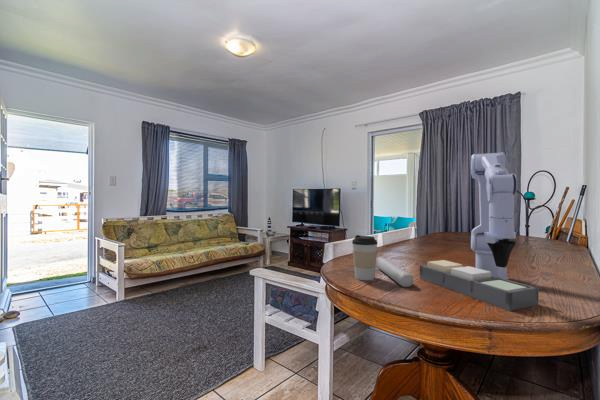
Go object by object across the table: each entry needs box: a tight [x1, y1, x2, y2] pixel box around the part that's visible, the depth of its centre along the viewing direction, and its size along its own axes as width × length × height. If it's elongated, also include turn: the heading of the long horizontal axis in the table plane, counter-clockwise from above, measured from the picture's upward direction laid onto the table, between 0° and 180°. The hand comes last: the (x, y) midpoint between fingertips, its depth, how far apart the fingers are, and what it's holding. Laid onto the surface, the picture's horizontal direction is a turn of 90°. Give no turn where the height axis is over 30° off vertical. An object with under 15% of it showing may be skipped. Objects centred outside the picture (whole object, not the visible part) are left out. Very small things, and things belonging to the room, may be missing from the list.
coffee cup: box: [351, 234, 378, 281], centre depth 103 cm, size 9×9×15 cm
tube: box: [375, 256, 414, 288], centre depth 104 cm, size 5×5×25 cm
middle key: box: [451, 265, 491, 281], centre depth 89 cm, size 8×8×2 cm
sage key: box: [480, 280, 527, 291], centre depth 80 cm, size 8×8×2 cm
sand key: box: [426, 259, 464, 272], centre depth 98 cm, size 8×8×2 cm
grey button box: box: [419, 264, 539, 312], centre depth 89 cm, size 11×31×5 cm, turn 19°
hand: (501, 266), depth 80 cm, fingers closed
